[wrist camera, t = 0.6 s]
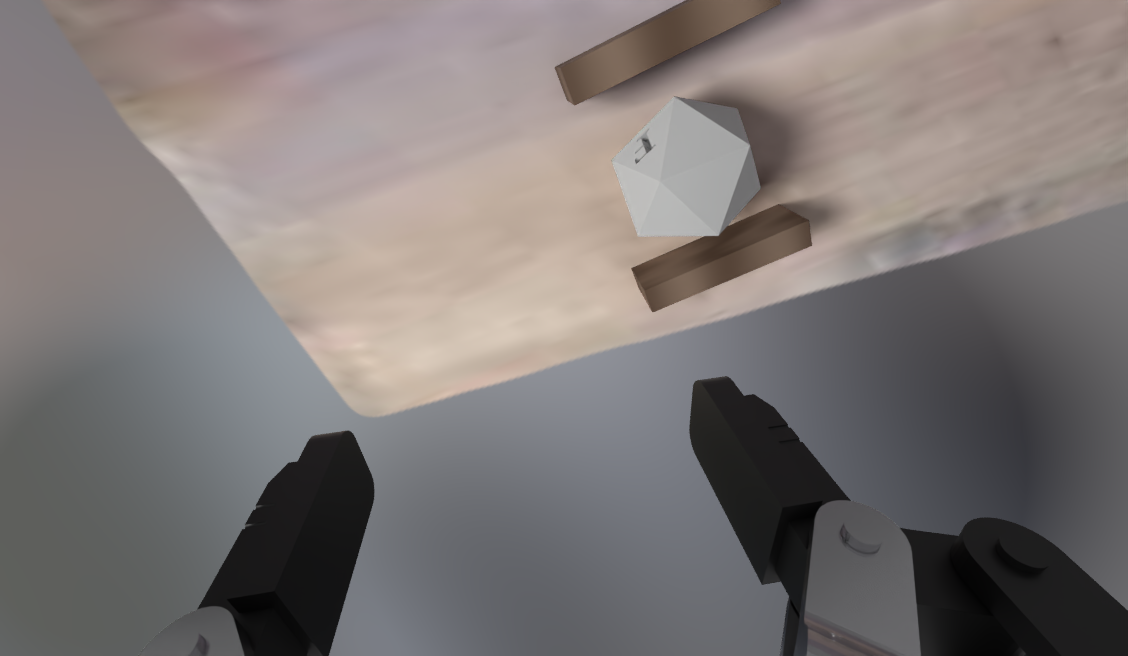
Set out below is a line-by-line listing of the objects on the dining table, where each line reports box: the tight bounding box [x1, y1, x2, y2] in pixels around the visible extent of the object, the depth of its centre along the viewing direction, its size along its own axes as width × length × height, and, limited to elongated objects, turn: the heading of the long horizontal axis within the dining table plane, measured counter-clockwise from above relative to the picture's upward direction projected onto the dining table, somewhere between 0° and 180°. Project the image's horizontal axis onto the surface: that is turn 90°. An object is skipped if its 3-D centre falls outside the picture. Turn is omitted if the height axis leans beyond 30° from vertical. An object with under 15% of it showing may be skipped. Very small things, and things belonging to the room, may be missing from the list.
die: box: [612, 96, 761, 237], centre depth 28 cm, size 8×9×10 cm
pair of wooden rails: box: [555, 0, 812, 312], centre depth 29 cm, size 12×17×4 cm
